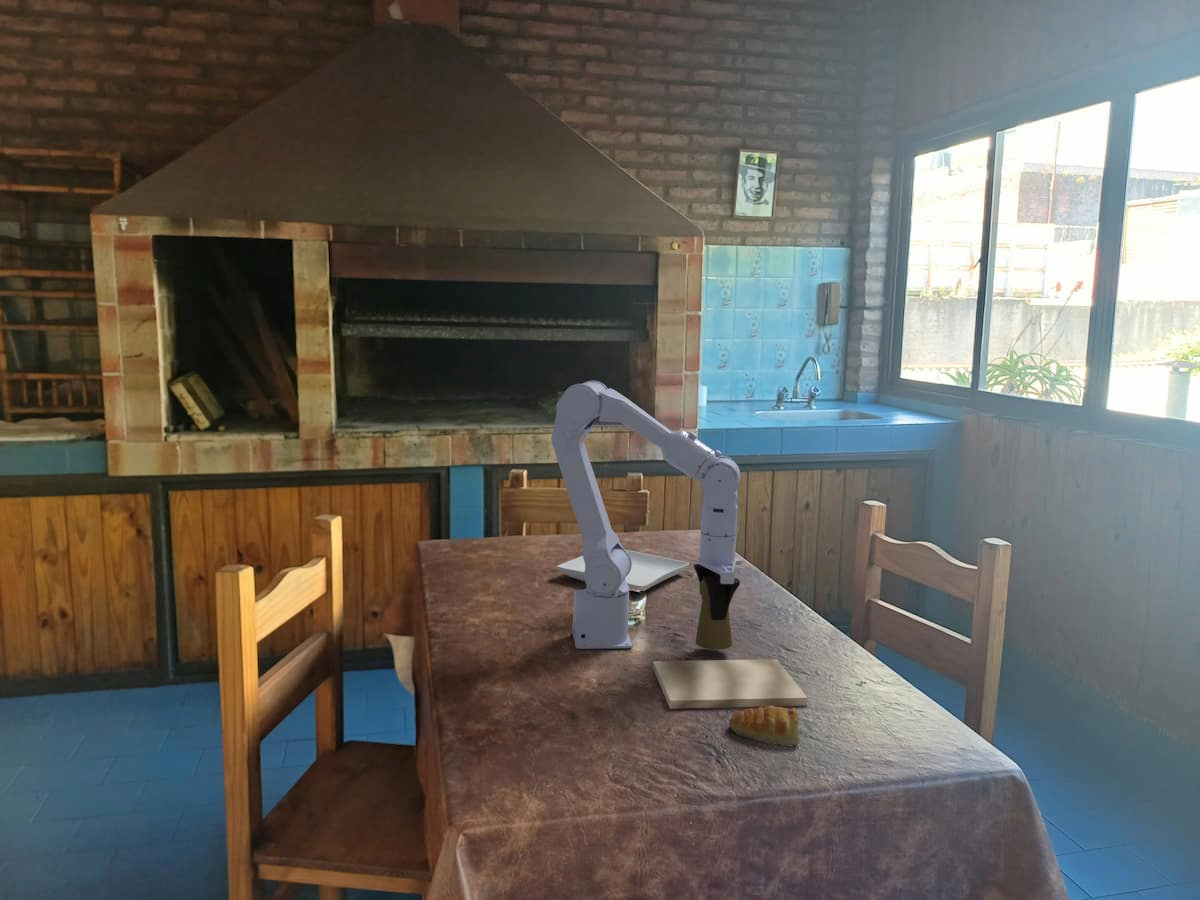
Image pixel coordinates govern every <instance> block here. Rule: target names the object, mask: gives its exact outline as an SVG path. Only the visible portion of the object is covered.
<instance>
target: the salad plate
mask: <svg viewBox="0 0 1200 900" xmlns="http://www.w3.org/2000/svg"><path fill="white" fill-rule="evenodd" d="M625 550H626V551H627V552H628V554H629V555H630V557H631V561H632V567H631V570H630V572H629V574H628V575H627V576H626V577H625V580H626V583H627V585H628V586H629V588H634V589H638V590H640V591H643V592H645V591H646V590H648V589H650V588H652V587H654V586H657V585H658V584H660V583H662V582H663V581H666V580H668V579H670V578H672V577H674V576H676V575H679V574H680V573H682V572H683V571H684V570H686V569H687V568H688V567H689V565H690V563H689V562H687V561H683V560H678V559H673V558H668V557H665V556H659V555H654V554H650V553H645V552H641V551H640V552H639V551H635V550H629V549H625ZM556 568H557V569H558V570H559V571H560V572H561V573H562V574H564V575H565V576H567V577H570V578H573V579H575V580H579V581H580V580H581V581H580V582H583V581H585V579H584V572H585V562H584V558H583V555H581V556H578V557H576V558H573V559H570V560H568V561H566V562H563V563H561V564H557V566H556Z"/></svg>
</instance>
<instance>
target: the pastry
mask: <svg viewBox="0 0 1200 900" xmlns="http://www.w3.org/2000/svg"><path fill="white" fill-rule="evenodd" d="M799 719H800V711H799V710H798V709H797V708H795V707H793V708H790V709H789V708H784V707H783V706H772V705H770V706H764V707H758V708H752V707H749V708H748V709H743V710H740V711H739V710H738V711H736V712H734V713H733V714H732V716H731V717H730V719H729V727H730V729H731V730H732V731H733V732H734V733H735V734H736V735H738V736H740V737H745V738H748V739H751V740H753V741H756V742H758V741H759V743H766V742H767V743H766V744H772V743H776V744H775V745H777V744H781V745H780V746H786V745H796V746H798V744H799V743H800V740H801V731H800V730H801V725H800V720H799Z"/></svg>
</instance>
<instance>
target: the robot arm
mask: <svg viewBox="0 0 1200 900" xmlns="http://www.w3.org/2000/svg"><path fill="white" fill-rule="evenodd" d="M555 406H556V407H555V408H556V414H555V420H554V424H553V427H552V428H553V429H552V433H551V437H550V438H551V439H550V440H551V444H552V447H553V448H552V449H553V451H554V453H555V456H556V460H557V463H558V467H559V469H560V472H561V476H562V479H563V482H564V486H565V487H566V491H567V493H568V497H569V500H570V504H571V506H572V510H573V512H574V515H575V519H576V521H577V525H578V528H579V531H580V534H581V537H582V540H583V545H582V556H583V558H584V562H585V572H584V579H585V582H584V583H585V585H586V588H584V589H577V590H576V589H575V590H574V592H573V606H572V607H573V608H572V609H573V613H572V622H571V633H572V636H573V642H574V647H575V648H576V649H579V650H582V649H583V650H588V649H589V650H590V649H592V650H595V649H597V650H599V649H632V648H633V647H634V646H633V645H634V644H633V643H632V639H631V637H630V634H629V607H630V606H629V604H630V603H629V602H630V592H629V586H628V585H627V583H626V580H625V577H626V576H627V575H628V574H629V572H630V570H631V567H632V561H631V557H630V555H629V554H628V552H627V551H626V550H627V549H625V548H624V547H623V546H622V543H621V542H620V539H619V536H618V534H617V533H615V531H614V530H613V528H612V525H611V522H610V519H609V516H608V513H607V511H606V507H605V504H604V500H603V498H602V495H601V492H600V488H599V485H598V482H597V478H596V476H595V473H594V472H595V471H594V469H593V466H592V463H591V460H590V457H589V454H588V451H587V448H586V445H585V440H586V439H587V436H588V435H589V433H590V432H591V429H592V428H593V426H594V425H595V423H596V422H601V423H620V424H622V425H623V426H625V427H626V428H628V429H630V430H632V431H633V432H635V433H636V434H637V435H639V436H641V437H642V438H644V439H646V440H647V441H649V442H651V443H652V444H653V445H655V446H657V447H659V449H660V450H661V454H662V457H663V458H662V459H663V460H664V461H666V462H667V463H668V464H670V465H671V466H673V467H674V468H676V469H677V470H679V471H680V472H681V473H683V474H685V475H686V476H687V477H689V478H690V479H691V480H693V481H694V482H699V483H700V484H701V488H702V490H703V503H702V504H701V522H700V523H701V524H700V539H699V540H700V541H699V555H698V558H697V563H695V564H693V568H694V570H695V573H696V575H697V579H698V581H699V582H698V583H699V584H700V583H701V581H702V580H704V582H705V584H706V587H707V590H708V595H709V603H710V613H711V618H712V620H725V618H726V615H727V611H728V608H729V607H730V604H731V601H732V599H733V596H734V595H735V592H736V591H737V589H738V588H739V587H740V583H741V580H740V579H739V578H737V577H735V569H736V566H737V565H739V566H740V565H742V564H743V561H742V558H740V557H736V546H737V545H736V544H737V543H736V542H737V541H736V540H737V529H738V527H737V526H738V512H739V508H738V507H739V506H738V498H739V495H738V488H739V485H740V481H741V470H740V467H739V466H738V464H737V463H736V462H735V461H734V460H733V458H731V456H726V455H723V454H722V452H721V451H720V450H719V449H716V451H715V450H713V449H712V448H710V447H709V446H707V445H706V444H705V443H703V442H702V441H700V440H699V439H697V438H698V434H697V433H696V432H694V431H692V430H691V431H690V432H689V433H688V432H687V431H685V430H678V431H672V430H670V429H669V428H667V427H666V426H665V425H664V424H662V423H661V422H660V421H658V420H657V419H655V418H654V417H653V416H651V415H650V414H648V413H647V412H646V411H645V410H644V409H642V408H641V407H639V406H638V405H637V404H636V403H634V402H633V401H631V400H630V399H628V398H627V397H626V396H624V395H623V394H622V393H619V392H618V391H617V390H615V389H613V388H610V387H609V388H608V386H606V385H605V384H604V383H603V382H601V381H599V380H587V381H585V382H583V383H576V384H573V385H571V386H569V387H568V388H567V389H566V390H565V391H564V392H563V394H562V395H561V397H560V398H559V400H558V401H557V403H556V405H555ZM702 599H703V597H702V596H701V600H702Z"/></svg>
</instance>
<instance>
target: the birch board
mask: <svg viewBox="0 0 1200 900" xmlns="http://www.w3.org/2000/svg"><path fill="white" fill-rule="evenodd" d="M652 664H653V665H652V669H653V672H654V674H655V676H656V679H657V681H658V684H659V686H660V689H661V690H662V693H663V695H664V698H665V700H666V703H667V706H668V707H669V709H670V710H672V709H673V710H674V709H709V708H710V709H711V708H713V709H715V708H752V707H753V708H755V707H758V708H760V707H762V708H764V707H766V706H770V705H772V706H774V707H794V706H795V707H797V706H798V707H799V706H808V696H807V695H806V694H805V692H804V691H803V690H802V689H801V688H800V686H799V685H798V684H797V682H796V680H794V679H793V678H792V676H791V675H790V674H789V672H787V670H786V668H784V666H783V665H782V664H781V662H780V661H779V660H778V658H774V659H773V658H771V659H769V658H767V659H765V658H763V659H762V658H761V659H760V658H759V659H717V660H716V659H714V660H713V659H709V660H702V659H701V660H655V661H653V662H652Z"/></svg>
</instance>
